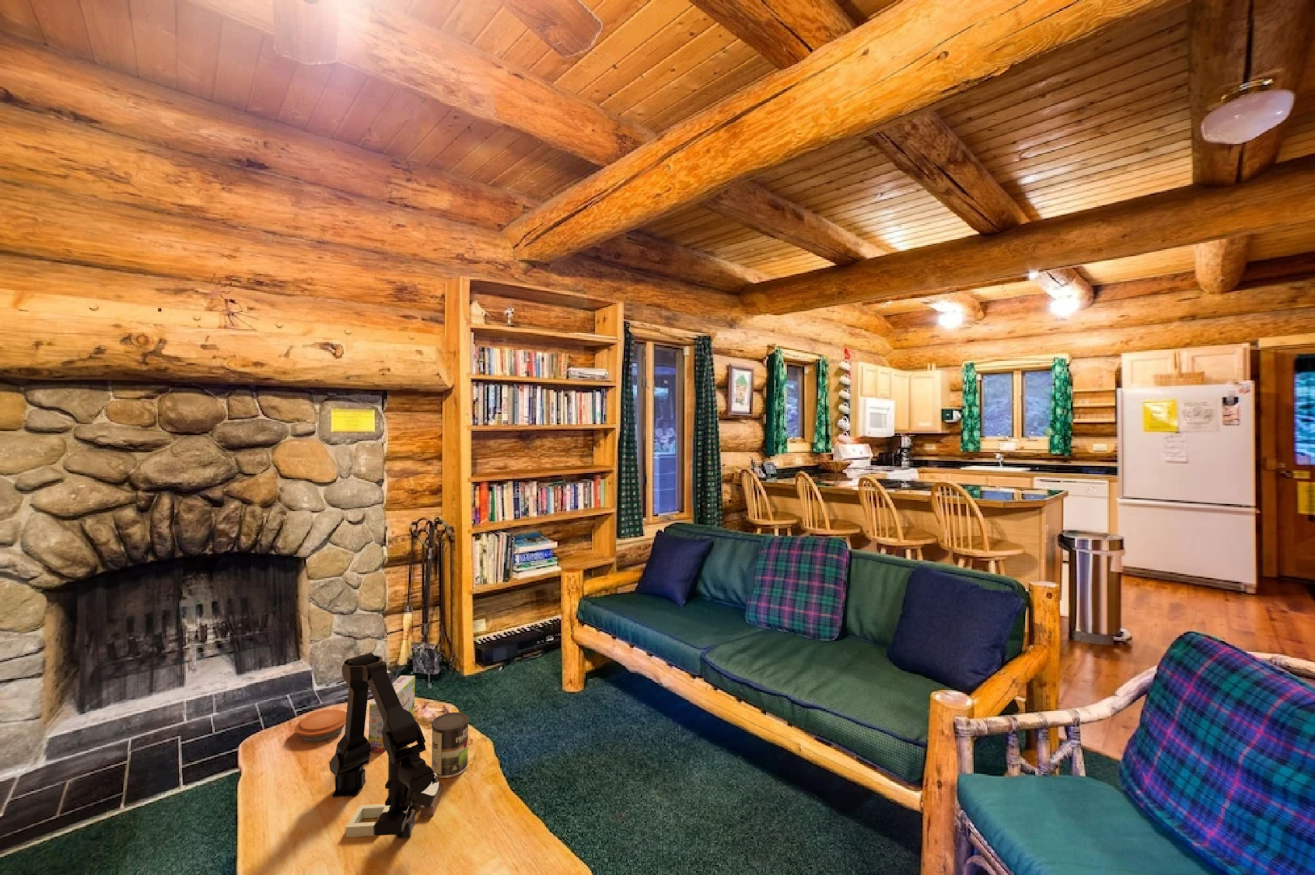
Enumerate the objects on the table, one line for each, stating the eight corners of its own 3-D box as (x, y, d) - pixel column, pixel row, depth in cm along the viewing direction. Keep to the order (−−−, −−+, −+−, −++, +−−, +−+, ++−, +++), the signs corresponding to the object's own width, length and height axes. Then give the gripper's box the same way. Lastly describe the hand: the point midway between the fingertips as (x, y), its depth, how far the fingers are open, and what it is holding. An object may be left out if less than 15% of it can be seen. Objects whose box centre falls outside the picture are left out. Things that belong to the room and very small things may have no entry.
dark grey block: (396, 838, 140) (396, 824, 140) (403, 824, 145) (403, 810, 144) (410, 837, 140) (410, 823, 140) (416, 823, 145) (416, 810, 145)
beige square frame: (345, 837, 140) (346, 827, 140) (359, 815, 148) (359, 805, 148) (380, 835, 141) (380, 825, 141) (391, 813, 149) (391, 803, 149)
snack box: (385, 753, 175) (385, 705, 175) (367, 753, 175) (367, 704, 175) (415, 717, 197) (415, 674, 196) (399, 717, 197) (399, 674, 196)
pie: (354, 717, 196) (354, 703, 196) (342, 742, 181) (342, 726, 181) (303, 723, 192) (303, 708, 192) (287, 749, 177) (287, 733, 177)
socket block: (392, 818, 147) (393, 808, 147) (405, 793, 157) (405, 784, 157) (433, 816, 148) (433, 806, 148) (443, 791, 158) (443, 782, 158)
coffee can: (474, 760, 173) (475, 714, 172) (456, 780, 162) (456, 731, 162) (444, 755, 175) (444, 710, 174) (423, 775, 165) (424, 727, 164)
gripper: (423, 797, 129) (423, 865, 130) (445, 750, 148) (445, 809, 148) (372, 800, 128) (372, 868, 129) (401, 752, 147) (400, 811, 147)
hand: (400, 837), depth 138 cm, fingers closed
